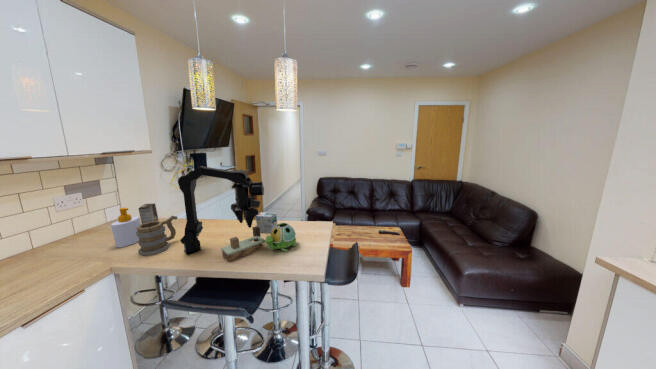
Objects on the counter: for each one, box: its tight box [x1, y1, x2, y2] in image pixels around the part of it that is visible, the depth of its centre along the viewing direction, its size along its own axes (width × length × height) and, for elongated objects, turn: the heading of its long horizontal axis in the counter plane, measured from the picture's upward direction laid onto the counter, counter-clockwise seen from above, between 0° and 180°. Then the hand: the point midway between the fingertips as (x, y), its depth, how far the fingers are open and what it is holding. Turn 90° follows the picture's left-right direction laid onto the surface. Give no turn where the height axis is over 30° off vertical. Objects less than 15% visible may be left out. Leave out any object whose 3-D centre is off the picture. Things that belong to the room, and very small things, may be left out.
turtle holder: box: [264, 222, 297, 253], centre depth 123 cm, size 12×18×12 cm
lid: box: [220, 235, 266, 255], centre depth 120 cm, size 19×8×5 cm, turn 134°
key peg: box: [251, 225, 261, 242], centre depth 132 cm, size 3×3×8 cm
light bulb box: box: [255, 211, 278, 234], centre depth 145 cm, size 11×7×11 cm, turn 74°
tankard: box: [136, 215, 178, 256], centre depth 128 cm, size 20×13×15 cm, turn 147°
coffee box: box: [137, 203, 160, 224], centre depth 152 cm, size 9×6×16 cm
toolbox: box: [221, 243, 265, 263], centre depth 121 cm, size 18×8×4 cm, turn 134°
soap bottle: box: [110, 207, 142, 248], centre depth 134 cm, size 13×8×20 cm, turn 161°
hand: (245, 225), depth 124 cm, fingers open, 9 cm apart
